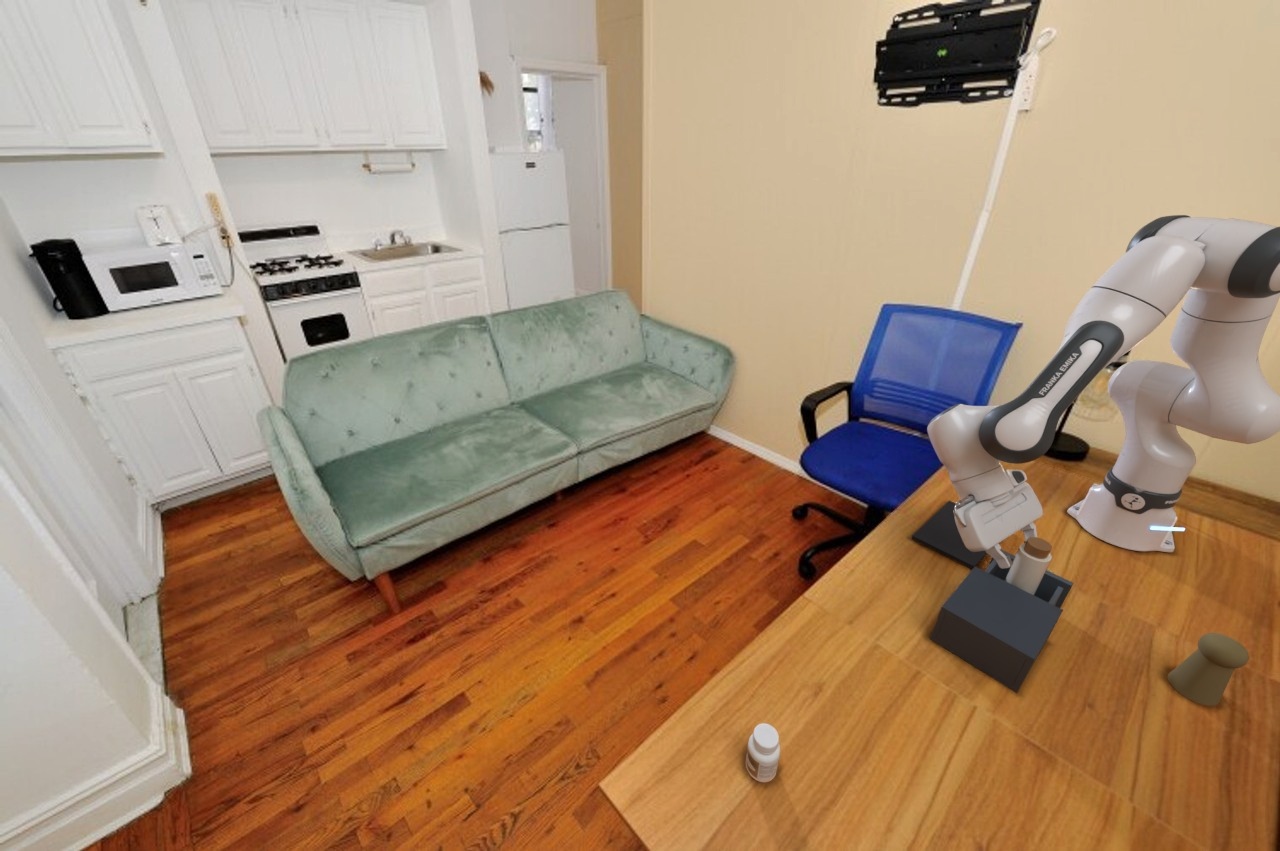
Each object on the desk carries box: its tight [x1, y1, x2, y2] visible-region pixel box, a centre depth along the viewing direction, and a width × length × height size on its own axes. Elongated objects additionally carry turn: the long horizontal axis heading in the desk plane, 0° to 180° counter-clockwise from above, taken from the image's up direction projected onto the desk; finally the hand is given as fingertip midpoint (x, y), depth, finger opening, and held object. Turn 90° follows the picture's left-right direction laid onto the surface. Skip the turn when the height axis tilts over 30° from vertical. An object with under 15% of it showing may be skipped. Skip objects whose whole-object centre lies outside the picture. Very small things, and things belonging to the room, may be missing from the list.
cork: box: [1167, 632, 1250, 707], centre depth 79 cm, size 6×6×11 cm
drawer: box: [984, 548, 1074, 609], centre depth 96 cm, size 18×13×6 cm
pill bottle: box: [745, 722, 781, 783], centre depth 71 cm, size 4×4×8 cm
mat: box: [910, 500, 988, 570], centre depth 116 cm, size 20×13×1 cm, turn 130°
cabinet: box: [929, 566, 1064, 694], centre depth 89 cm, size 15×14×8 cm
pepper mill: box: [1005, 536, 1053, 595], centre depth 93 cm, size 5×5×14 cm
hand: (1021, 557), depth 93 cm, fingers open, 8 cm apart
